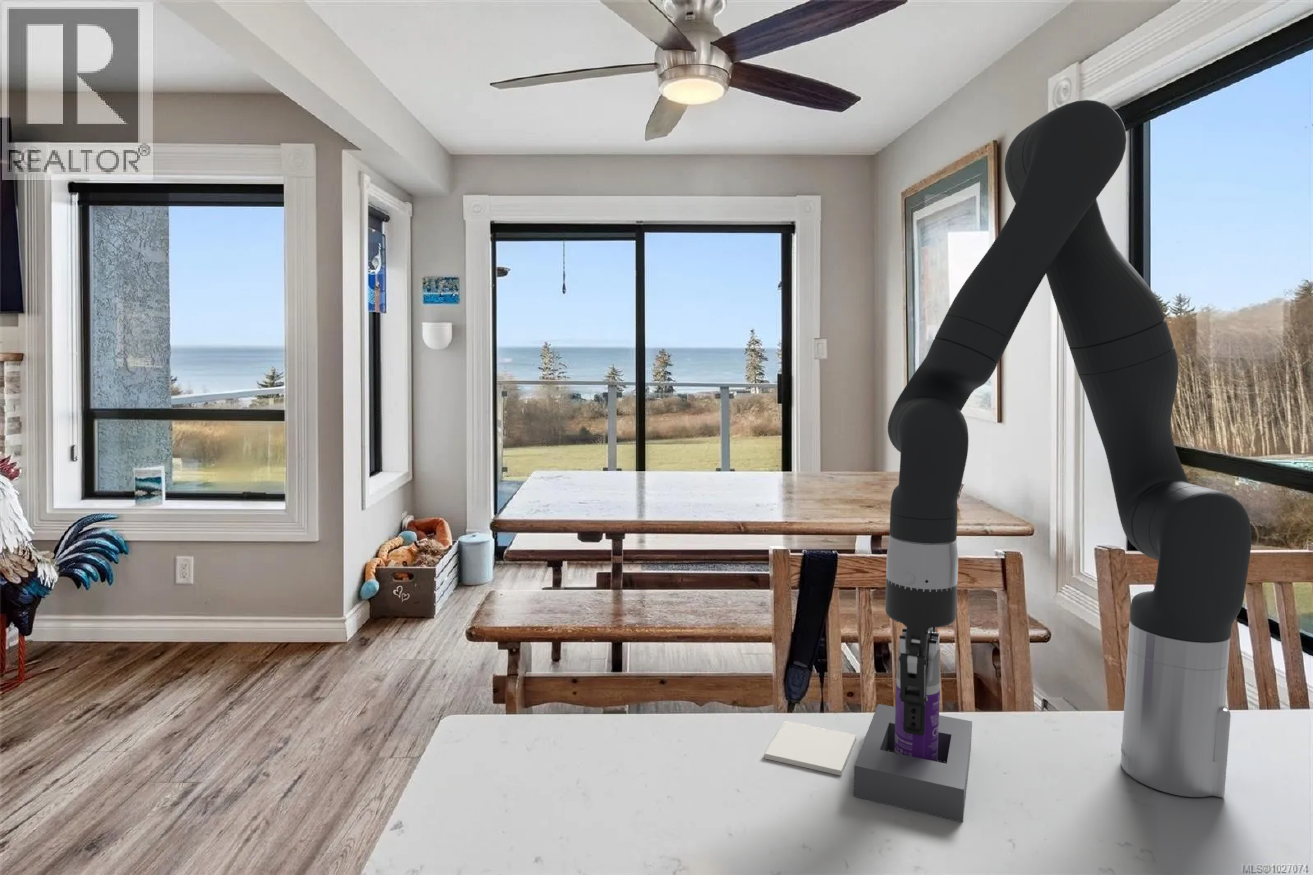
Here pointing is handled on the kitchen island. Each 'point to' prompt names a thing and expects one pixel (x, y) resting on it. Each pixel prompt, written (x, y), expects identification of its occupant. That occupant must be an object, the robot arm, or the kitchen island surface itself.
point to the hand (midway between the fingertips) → (916, 721)
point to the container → (929, 740)
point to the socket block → (915, 768)
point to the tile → (811, 747)
